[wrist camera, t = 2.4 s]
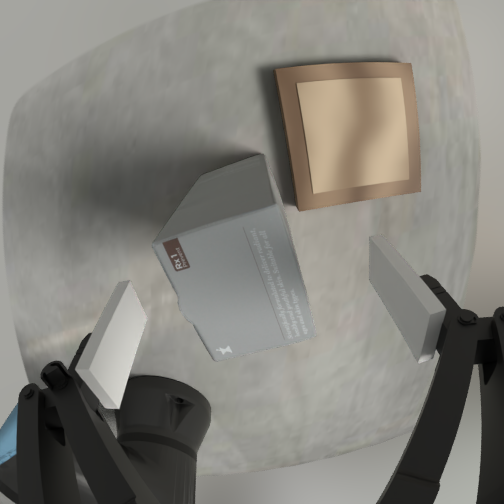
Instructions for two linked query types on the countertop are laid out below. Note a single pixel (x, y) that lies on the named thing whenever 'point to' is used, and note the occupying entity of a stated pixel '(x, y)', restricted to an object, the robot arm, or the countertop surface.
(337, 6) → the countertop surface
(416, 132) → the tan flat square board
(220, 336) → the skincare box
